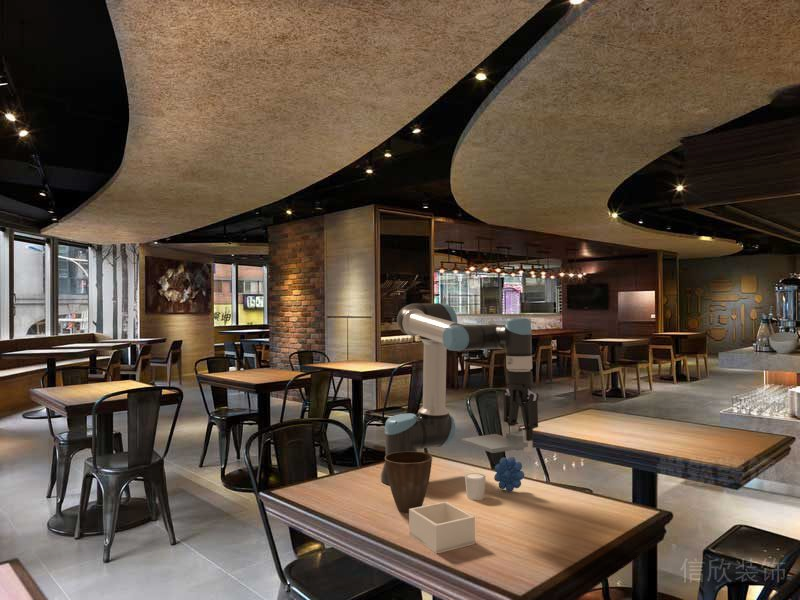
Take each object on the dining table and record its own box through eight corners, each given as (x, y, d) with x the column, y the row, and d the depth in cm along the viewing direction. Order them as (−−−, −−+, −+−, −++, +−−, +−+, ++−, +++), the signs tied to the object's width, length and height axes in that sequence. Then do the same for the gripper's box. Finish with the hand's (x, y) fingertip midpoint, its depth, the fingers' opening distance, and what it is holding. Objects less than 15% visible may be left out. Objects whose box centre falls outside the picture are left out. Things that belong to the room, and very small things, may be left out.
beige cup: (473, 492, 186) (473, 471, 186) (490, 497, 181) (489, 475, 181) (460, 497, 181) (460, 476, 181) (477, 502, 176) (477, 480, 176)
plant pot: (378, 504, 175) (378, 453, 176) (421, 497, 181) (420, 449, 181) (395, 520, 162) (394, 465, 162) (441, 512, 167) (440, 459, 168)
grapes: (531, 492, 185) (530, 456, 185) (520, 497, 180) (519, 460, 180) (501, 485, 193) (501, 450, 193) (490, 489, 188) (490, 454, 188)
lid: (460, 449, 160) (460, 435, 160) (511, 441, 169) (510, 428, 169) (491, 460, 147) (491, 445, 147) (544, 451, 156) (544, 437, 156)
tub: (409, 534, 151) (409, 508, 151) (446, 526, 156) (445, 501, 157) (436, 553, 138) (435, 525, 139) (475, 543, 144) (474, 516, 144)
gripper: (490, 368, 168) (491, 445, 167) (530, 373, 152) (532, 458, 151) (509, 367, 172) (511, 442, 171) (550, 371, 156) (552, 454, 155)
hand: (521, 449), depth 161 cm, fingers closed on lid, 5 cm apart
